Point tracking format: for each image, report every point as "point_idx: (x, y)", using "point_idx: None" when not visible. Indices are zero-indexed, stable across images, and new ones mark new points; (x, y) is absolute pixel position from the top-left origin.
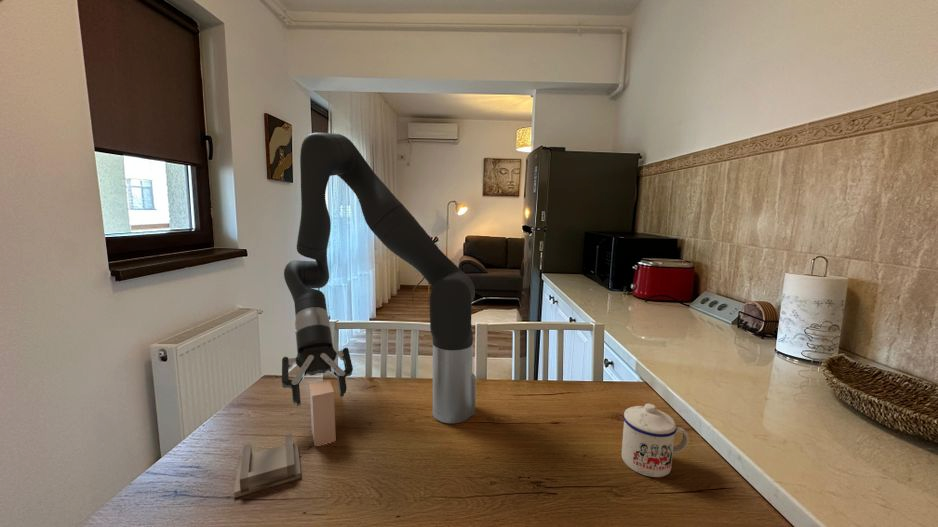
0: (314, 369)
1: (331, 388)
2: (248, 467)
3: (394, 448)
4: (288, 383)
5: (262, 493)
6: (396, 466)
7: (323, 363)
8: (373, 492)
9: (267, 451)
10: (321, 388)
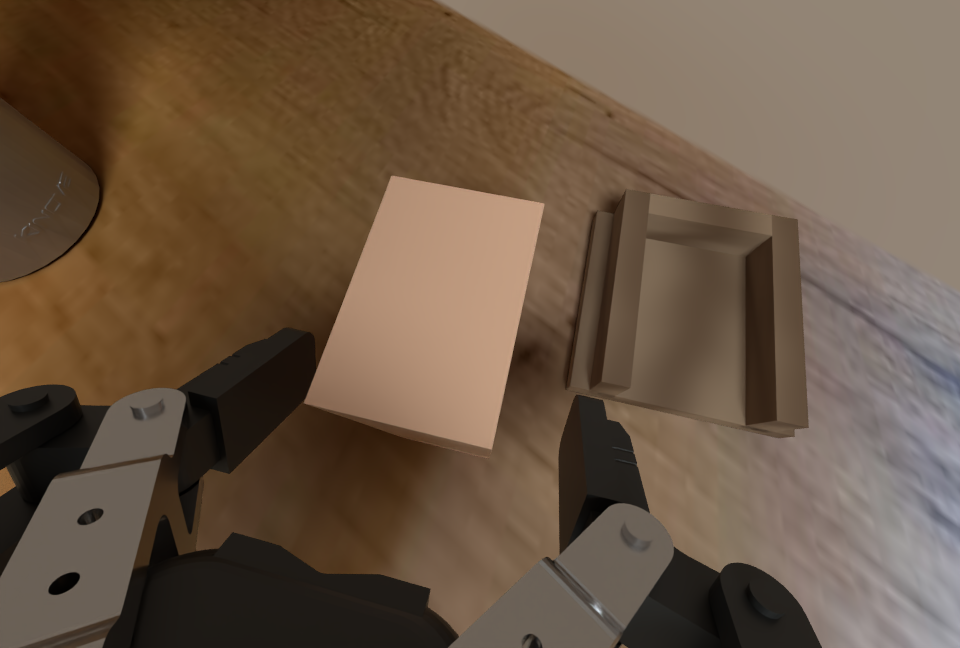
0: (364, 599)
1: (380, 227)
2: (774, 262)
3: (312, 177)
4: (699, 576)
5: None
6: (359, 117)
7: (170, 641)
8: (454, 81)
9: (686, 395)
10: (441, 276)
